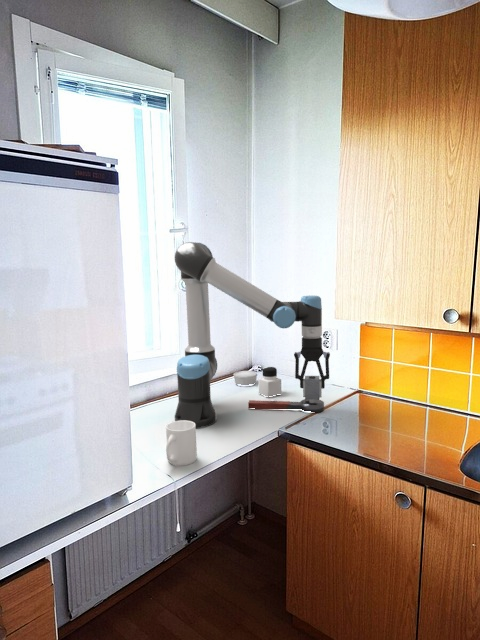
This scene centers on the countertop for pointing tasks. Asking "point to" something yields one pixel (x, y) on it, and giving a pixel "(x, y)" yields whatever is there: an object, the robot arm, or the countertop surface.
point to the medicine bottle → (269, 382)
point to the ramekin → (245, 377)
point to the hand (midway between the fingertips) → (312, 396)
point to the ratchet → (289, 405)
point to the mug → (181, 442)
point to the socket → (312, 387)
